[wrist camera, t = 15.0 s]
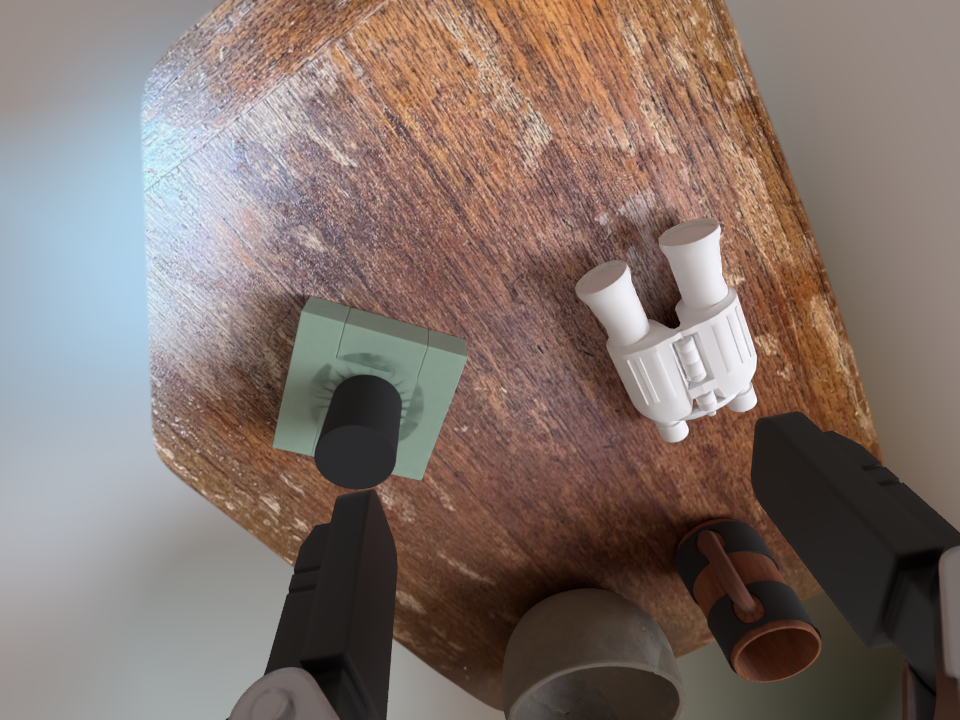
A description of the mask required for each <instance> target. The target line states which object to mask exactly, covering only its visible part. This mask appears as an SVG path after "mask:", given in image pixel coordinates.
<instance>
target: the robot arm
mask: <svg viewBox="0 0 960 720" xmlns="http://www.w3.org/2000/svg"><path fill="white" fill-rule="evenodd" d="M751 482H752V487H753V490H754V493H755V495H756V498H757V500H758V501H759V503H760V505H761V506H762V508H763V509H764V510H765V512H766V513H767V514H768V516H769V517H770V518H771V520H772V521H773V522H774V524H775V525H776V526H777V528H778V529H779V530H780V532H781V533H782V534H783V536H784V537H785V538H786V540H787V541H788V542H789V544H790V545H791V546H792V548H793V549H794V551H795V552H796V553H797V555H798V556H799V557H800V559H801V560H802V561H803V563H804V564H805V565H806V567H807V568H808V569H809V571H810V572H811V573H812V575H813V576H814V577H815V579H816V580H817V581H818V583H819V584H820V585H821V587H822V588H823V589H824V591H825V592H826V593H827V595H828V596H829V597H830V599H831V600H832V602H833V603H834V604H835V605H836V607H837V608H838V610H839V611H840V612H841V614H842V615H843V616H844V618H845V619H846V620H847V622H848V623H849V624H850V626H851V627H852V628H853V630H854V631H855V632H856V634H857V635H858V636H859V638H860V639H861V640H862V642H863V643H864V645H865V646H866V647H867V649H868V650H871V649H877V648H882V647H887V646H894V645H895V646H896V647H897V649H898V650H899V651H900V652H901V654H902V655H903V656H904V657H905V662H904V664H903V670H902V686H903V687H902V693H903V694H902V705H903V707H902V710H903V711H902V713H903V715H902V717H903V719H902V720H960V533H959V532H958V531H957V530H956V529H955V528H954V527H953V526H952V525H951V524H949V523H948V522H947V521H946V520H945V519H944V518H943V517H942V516H940V515H939V514H938V513H937V512H936V511H935V510H934V509H932V508H931V507H930V506H929V505H928V504H927V503H926V502H925V501H923V500H922V499H921V498H920V497H919V496H918V495H917V494H916V493H914V492H913V491H912V490H911V489H910V488H909V487H908V486H907V485H905V484H904V483H900V482H899V478H897V477H896V476H895V475H894V474H893V473H892V472H891V471H890V470H888V469H887V468H886V467H882V465H881V462H879V461H878V460H877V459H876V458H875V457H874V456H873V455H872V454H870V453H869V452H868V451H867V450H866V449H865V448H864V447H863V446H861V445H860V444H858V443H856V442H854V441H852V440H850V439H848V438H846V437H844V436H842V435H840V434H838V433H836V432H834V431H828V432H822V431H821V430H820V429H819V428H818V427H817V426H816V425H815V424H814V423H813V422H812V421H811V420H810V419H809V418H808V417H807V416H805V415H804V414H803V413H801V412H798V411H795V412H789V413H784V414H779V415H773V416H768V417H762V418H759V419H758V420H757V422H756V425H755V433H754V444H753V455H752V467H751ZM396 583H397V553H396V547H395V543H394V539H393V536H392V533H391V531H390V528H389V525H388V522H387V519H386V517H385V514H384V511H383V508H382V505H381V503H380V500H379V497H378V495H377V493H376V491H375V490H374V489H371V490H366V491H360V492H355V493H350V494H344V495H339V496H338V497H337V499H336V502H335V506H334V510H333V514H332V519H331V523H327V524H321V525H316V526H315V527H314V529H313V530H312V532H311V533H310V534H309V536H308V537H307V539H306V540H305V541H304V543H303V544H302V546H301V547H300V550H299V554H298V557H297V561H296V564H295V568H294V575H292V579H291V583H290V586H289V594H287V596H286V600H285V604H284V607H283V611H282V614H281V618H280V622H279V625H278V629H277V632H276V636H275V639H274V643H273V646H272V650H271V654H270V657H269V661H268V664H267V668H266V670H265V673H264V676H263V677H261V678H260V679H259V680H257V681H256V682H255V683H254V684H252V685H251V686H250V687H249V688H248V689H247V690H246V692H244V694H243V695H242V696H241V697H240V699H239V700H238V702H237V703H236V705H235V706H234V708H233V710H232V712H231V714H230V717H229V718H227V719H226V720H386V717H387V703H388V690H389V676H390V663H391V649H392V636H393V623H394V610H395V596H396Z"/></svg>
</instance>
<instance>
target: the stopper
mask: <svg viewBox="0 0 960 720" xmlns="http://www.w3.org/2000/svg"><path fill="white" fill-rule="evenodd" d="M401 411H402V401H401V397H400V395H399V393H398V391H397V390H396V388H395V387H394V386H393V385H392V384H391V383H389V382H388V381H386V380H385V379H383V378H380V377H378V376H374V375H356V376H353V377H350V378H348V379H346V380H344V381H343V382H342V383H340V384H339V385H338V387H337V388H336V389H335V391H334V393H333V396H332V399H331V402H330V405H329V408H328V411H327V414H326V417H325V420H324V423H323V426H322V429H321V433H320V436H319V439H318V442H317V445H316V448H315V453H314V458H315V462H316V465H317V468H318V469H319V471H320V472H321V474H322V475H323V476H324V477H325V478H326V479H328V480H329V481H330V482H332V483H334V484H336V485H338V486H341V487H344V488H349V489H366V488H370V487H374V486H376V485H378V484H380V483H382V482H383V481H385V480H386V479H387V478H388V477H389V476H390V475H391V473H392V472H393V470H394V468H395V464H396V457H397V448H398V439H399V430H400V420H401Z"/></svg>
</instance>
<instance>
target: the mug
mask: <svg viewBox="0 0 960 720" xmlns="http://www.w3.org/2000/svg"><path fill="white" fill-rule="evenodd" d="M675 565H676V568H677V570H678V573H679V575H680V577H681V579H682V581H683V582H684V584H685V586H686V588H687V589H688V591H689V593H690V595H691V596H692V598H693V600H694V601H695V603H696V604H697V605H699V606H700V608H701V609H702V611H703V613H704V615H705V617H706V619H707V623H708V627H709V629H710V631H711V632H712V634H713V636H714V637H715V639H716V641H717V642H718V644H719V646H720V647H721V649H722V651H723V653H724V655H725V657H726V659H727V661H728V663H729V665H730V667H731V668H732V669H733V671H734V672H735V673H737V674H738V675H740V676H741V677H743V678H744V679H746V680H749V681H753V682H774V681H779V680H783V679H786V678H789V677H792V676H794V675H796V674H798V673H800V672H801V671H803V670H804V669H806V668H807V667H808V666H809V665H811V664H812V663H813V662H814V661H815V659H816V658H817V656H818V655H819V653H820V650H821V635H820V632H819V631H818V629H817V628H816V626H815V625H814V623H813V622H812V620H811V619H810V617H809V615H808V614H807V612H806V610H805V609H804V607H803V605H802V604H801V602H800V600H799V599H798V597H797V595H796V593H795V592H794V590H793V589H792V588H791V587H789V586H788V585H787V583H786V582H785V580H784V579H783V577H782V576H781V574H780V573H779V568H778V565H777V563H776V561H775V560H774V558H773V556H772V554H771V553H770V551H769V549H768V548H767V546H766V545H765V543H764V541H763V540H762V539H761V537H760V536H759V534H758V533H757V532H756V531H755V530H754V529H753V528H752V527H751V526H749V525H747V524H745V523H741V522H739V521H737V520H733V519H714V520H710V521H707V522H704V523H702V524H700V525H698V526H696V527H694V528H693V529H691V530H690V531H689V532H688V533H687V534H686V535H685V536H684V537H683V538H682V539H681V541H680V543H679V545H678V548H677V553H676V557H675Z"/></svg>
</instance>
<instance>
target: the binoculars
mask: <svg viewBox="0 0 960 720" xmlns="http://www.w3.org/2000/svg"><path fill="white" fill-rule="evenodd" d="M720 233H721V228H720V225H719V223H718V221H717V220H715V219H711V218H700V219H694V220H690V221H686V222H683V223H680V224H678V225H676V226H673V227H671V228H670V229H668V230H667V231H665V232H664V233H663V234H662V235H661V236H660V237H659V246H660V249H661V250H662V252H663V253H664V255H665V256H666V257H667V259H668V261H669V264H670V267H671V269H672V272H673V274H674V277H675V280H676V282H677V285H678V288H679V291H680V294H681V296H682V299H681V300H680V301H679V302H678V303H677V305H676V308H675V311H676V313H677V316H678V318H679V321H680V326H679V327H677V328H675V329H670V328H668V327H666V326H664V325H662V324H661V323H659V322H657V321H655V320H651V319H647V317H646V314H645V312H644V310H643V308H642V305H641V303H640V301H639V298H638V296H637V294H636V291H635V289H634V286H633V284H632V281H631V273H630V268H629V267H628V265H627V264H626V262H624V261H622V260H612V261H608V262H605V263H603V264H600V265H598V266H596V267H595V268H593V269H591V270H590V271H588V272H587V273H586V274H585V275H584V276H582V277H581V279H580V280H579V281H578V282H577V284H576V286H575V291H576V294H577V296H578V297H579V298H580V299H581V300H582V301H583V302H584V303H585V304H587V305H588V306H589V308H590V309H591V310H592V312H593V313H594V314H595V316H596V317H597V318H598V320H599V321H600V322H601V323H602V325H603V326H604V327H605V328H606V330H607V333H608V336H609V338H608V340H607V342H606V348H607V351H608V353H609V355H610V357H611V359H612V361H613V363H614V365H615V367H616V369H617V372H618V374H619V376H620V378H621V380H622V382H623V384H624V386H625V388H626V390H627V393H628V395H629V397H630V399H631V401H632V403H633V405H634V407H635V408H636V409H637V410H638V411H639V412H640V413H641V414H642V415H644V416H645V417H647V418H650V419H652V420H654V421H655V425H656V427H657V428H658V430H659V433H660V435H661V437H662V439H663V440H664V441H666V442H672V443H673V442H678V441H681V440H682V439H684V438H685V437H686V436H687V435H688V432H689V429H688V426H687V424H686V422H685V420H690V419H695V418H698V417H701V416H703V415H706V414H707V415H708V416H714V415H715V414H716V411H715V410H717V409H719V408H721V407H722V406H724V405H726V404H727V407H728V408H729V409H730V410H732V411H735V412H744V411H747V410H750V409H751V408H753V407H754V406H755V405H756V403H757V398H756V395H755V392H754V389H753V385H752V383H751V379H752V377H753V375H754V373H755V370H756V362H757V355H756V352H755V349H754V346H753V343H752V340H751V336H750V333H749V330H748V327H747V324H746V321H745V318H744V315H743V311H742V308H741V305H740V302H739V299H738V296H737V293H736V290H735V289H734V288H733V287H731V286H728V285H726V283H725V281H724V279H723V276H722V266H721V256H720V247H719V240H720ZM693 399H696V401H697V404H698V405H696V406H693ZM692 406H693V407H692Z"/></svg>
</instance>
